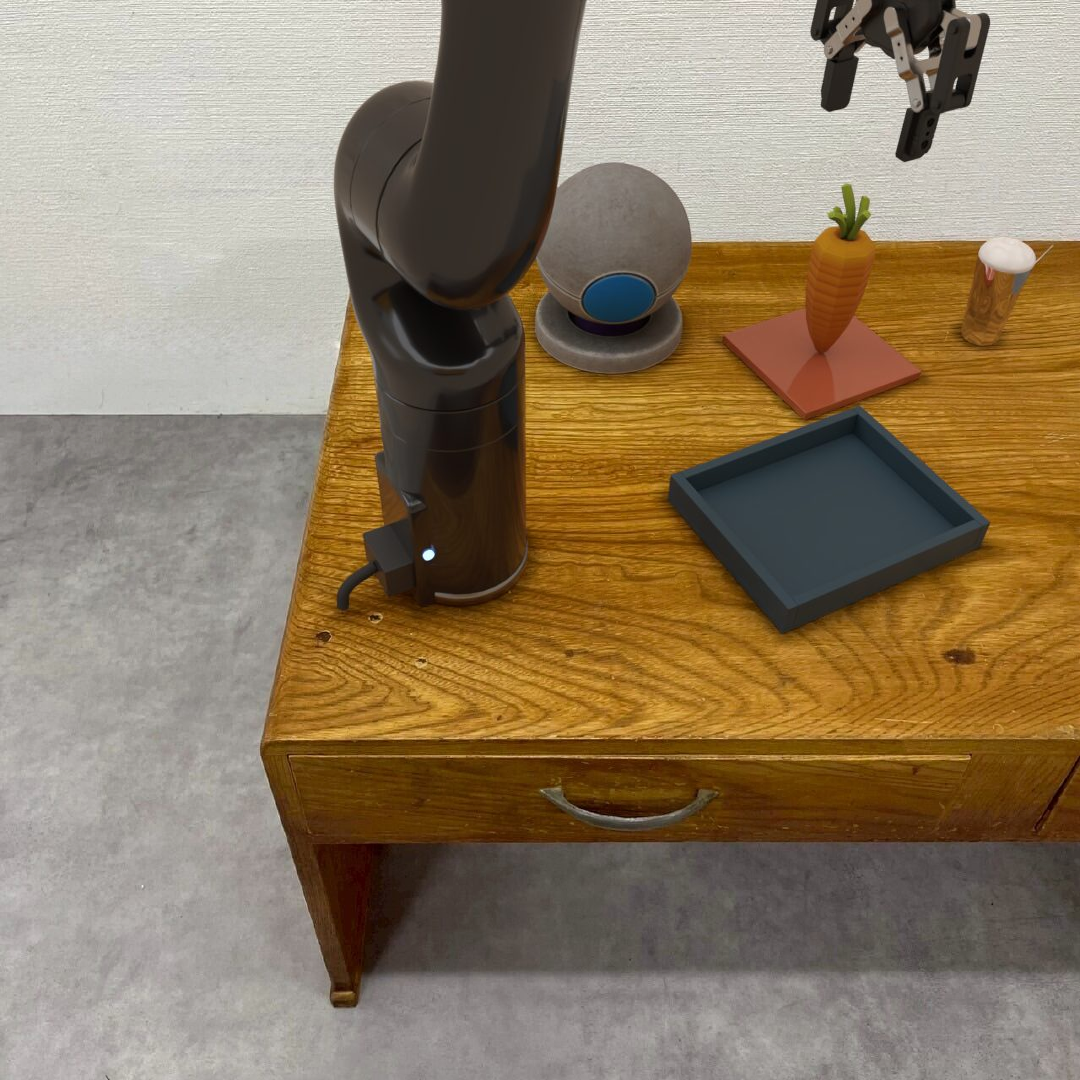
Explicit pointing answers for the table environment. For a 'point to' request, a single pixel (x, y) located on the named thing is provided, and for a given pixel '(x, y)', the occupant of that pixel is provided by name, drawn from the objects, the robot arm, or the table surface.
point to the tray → (824, 516)
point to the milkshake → (996, 288)
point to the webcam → (613, 270)
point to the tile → (819, 363)
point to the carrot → (838, 272)
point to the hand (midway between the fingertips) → (870, 132)
